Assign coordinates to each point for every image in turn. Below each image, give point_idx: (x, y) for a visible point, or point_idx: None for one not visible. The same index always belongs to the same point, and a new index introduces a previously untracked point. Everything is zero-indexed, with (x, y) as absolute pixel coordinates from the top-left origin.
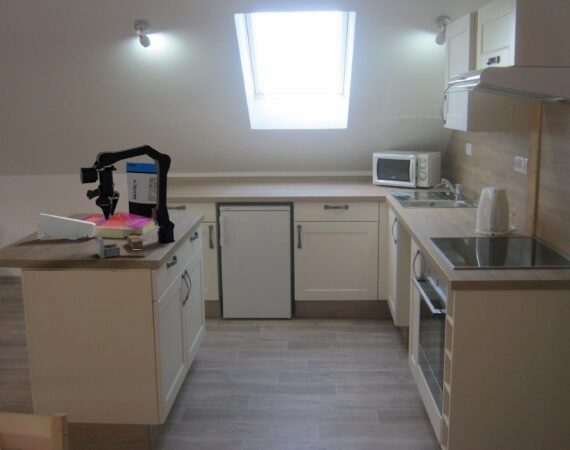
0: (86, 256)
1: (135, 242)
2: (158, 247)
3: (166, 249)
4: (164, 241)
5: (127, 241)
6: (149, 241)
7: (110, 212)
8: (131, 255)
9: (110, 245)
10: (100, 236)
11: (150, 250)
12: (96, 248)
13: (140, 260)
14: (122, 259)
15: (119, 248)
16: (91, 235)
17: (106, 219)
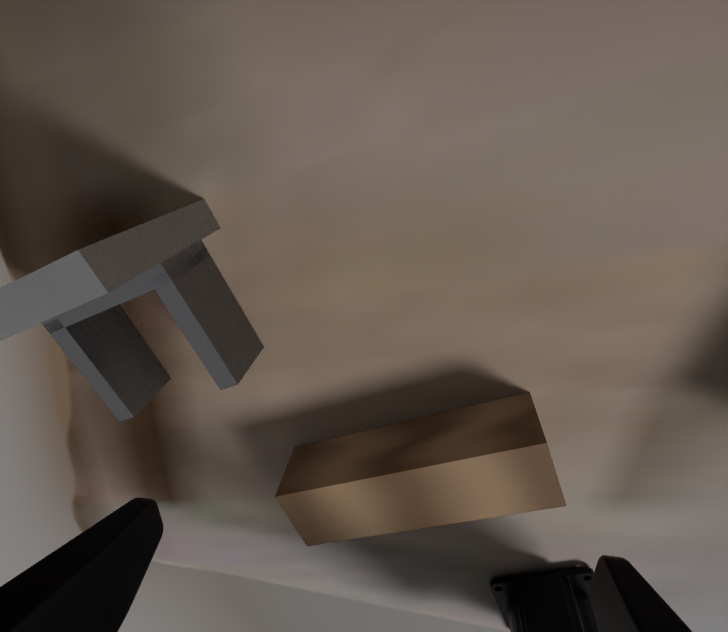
0: (89, 130)
1: (282, 506)
2: (381, 560)
3: (330, 589)
4: (504, 599)
5: (528, 407)
6: (573, 521)
7: (628, 627)
8: (179, 442)
9: (193, 343)
10: (11, 330)
11: None
12: (176, 210)
13: (87, 488)
14: (81, 404)
15: (124, 415)
16: None
17: (137, 509)
